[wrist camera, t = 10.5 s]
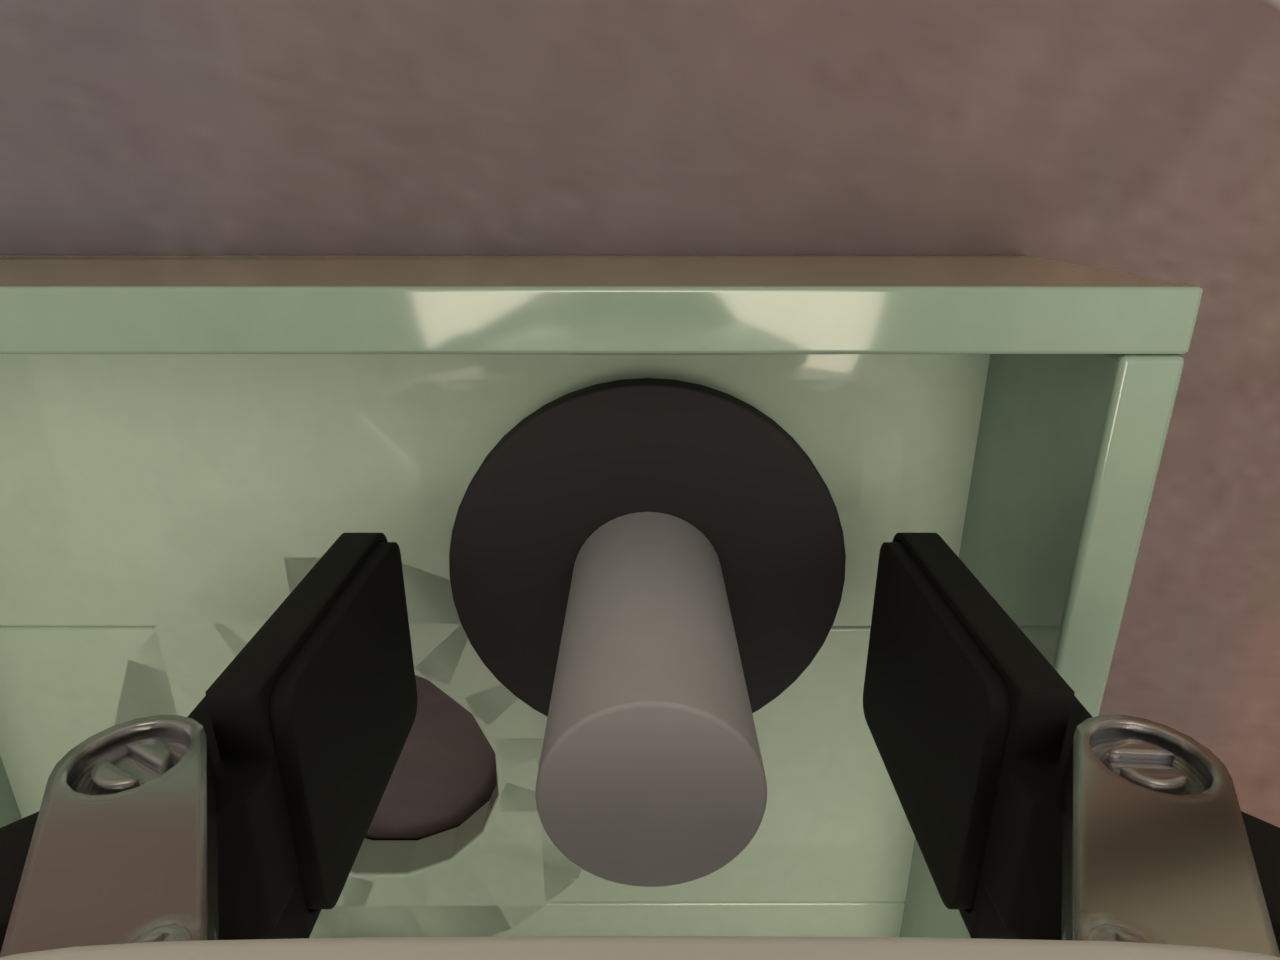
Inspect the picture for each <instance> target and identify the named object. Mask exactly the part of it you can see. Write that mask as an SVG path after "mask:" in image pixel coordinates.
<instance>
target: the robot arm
mask: <svg viewBox="0 0 1280 960" xmlns="http://www.w3.org/2000/svg"><path fill="white" fill-rule="evenodd" d="M205 694H206V696H205V697H204V698H203V699H202V700H201V701H200V703H199V704H198V705H197V706H196V707H195V708H194V710H193V711H192V712H191V713H190V714H189V716H188V717H184V716H180V715H154V716H149V717H143V718H137V719H133V720H130V721H127V722H124V723H121V724H118V725H115V726H112V727H110V728H107V729H105V730H103V731H101V732H99V733H97V734H95V735H93V736H91V737H89V738H87V739H86V740H84V741H83V742H81V743H80V744H78V745H77V746H75V747H74V748H72V749H71V750H70V751H69V752H68V753H67V754H66V755H65V756H64V757H63V758H62V759H61V760H60V761H59V762H58V763H57V764H56V765H55V767H54V769H53V770H52V772H51V774H50V776H49V778H48V781H47V784H46V788H45V792H44V795H43V799H42V803H41V806H40V810H39V811H38V812H36V813H34V814H31V815H29V816H27V817H24V818H22V819H20V820H18V821H15V822H13V823H11V824H8V825H6V826H4V827H1V828H0V960H1280V828H1279V827H1276V826H1274V825H1272V824H1269V823H1267V822H1265V821H1262V820H1260V819H1258V818H1256V817H1253V816H1251V815H1249V814H1246V813H1244V812H1242V811H1241V810H1240V806H1239V803H1238V799H1237V795H1236V792H1235V788H1234V784H1233V781H1232V778H1231V776H1230V774H1229V772H1228V770H1227V769H1226V767H1225V765H1224V764H1223V763H1222V762H1221V761H1220V760H1219V759H1218V758H1217V757H1216V756H1215V755H1214V754H1213V753H1212V752H1211V751H1210V750H1209V749H1208V748H1206V747H1205V746H1203V745H1202V744H1200V743H1199V742H1197V741H1196V740H1194V739H1193V738H1191V737H1189V736H1187V735H1185V734H1183V733H1181V732H1179V731H1177V730H1175V729H1173V728H1170V727H1168V726H1165V725H1162V724H1159V723H1156V722H1153V721H1150V720H1147V719H1143V718H1137V717H1131V716H1126V715H1100V716H1096V717H1092V715H1091V714H1090V713H1089V712H1088V711H1087V710H1086V708H1085V707H1084V706H1083V705H1082V704H1081V703H1080V701H1079V700H1078V699H1077V698H1076V697H1075V696H1074V694H1075V692H1074V691H1073V690H1072V688H1071V687H1070V686H1069V685H1068V684H1067V683H1066V681H1065V680H1064V679H1063V678H1062V677H1061V676H1060V675H1059V673H1058V672H1057V671H1056V670H1055V669H1054V668H1053V666H1052V665H1051V664H1050V663H1049V662H1048V661H1047V659H1046V658H1045V657H1044V656H1043V655H1042V654H1041V652H1040V651H1039V650H1038V649H1037V648H1036V647H1035V646H1034V644H1033V643H1032V642H1031V641H1030V640H1029V639H1028V637H1027V636H1026V635H1025V634H1024V633H1023V632H1022V630H1021V629H1020V628H1019V627H1018V626H1017V625H1016V623H1015V622H1014V621H1013V620H1012V619H1011V618H1010V617H1009V615H1008V614H1007V613H1006V612H1005V611H1004V610H1003V608H1002V607H1001V606H1000V605H999V604H998V603H997V601H996V600H995V599H994V598H993V597H992V596H991V594H990V593H989V592H988V591H987V590H986V589H985V587H984V586H983V585H982V584H981V583H980V582H979V581H978V579H977V578H976V577H975V576H974V575H973V574H972V572H971V571H970V570H969V569H968V568H967V567H966V565H965V564H964V563H963V562H962V561H961V560H960V558H959V557H958V556H957V555H956V554H955V553H954V552H953V550H952V549H951V548H950V547H949V546H948V545H947V543H946V542H945V541H944V540H943V539H942V538H941V536H940V535H939V534H937V533H897V534H896V535H895V536H894V538H893V541H892V542H884V543H883V544H882V545H881V548H880V553H879V561H878V569H877V578H876V587H875V595H874V604H873V612H872V621H871V629H870V638H869V647H868V655H867V664H866V672H865V681H864V689H863V711H864V716H865V720H866V722H867V725H868V727H869V730H870V732H871V734H872V737H873V739H874V741H875V744H876V746H877V748H878V751H879V753H880V756H881V758H882V760H883V763H884V765H885V767H886V770H887V772H888V774H889V777H890V779H891V781H892V784H893V786H894V789H895V791H896V793H897V796H898V798H899V800H900V803H901V805H902V807H903V810H904V812H905V815H906V817H907V819H908V822H909V824H910V826H911V829H912V831H913V833H914V836H915V838H916V840H917V843H918V845H919V848H920V850H921V852H922V855H923V857H924V859H925V862H926V864H927V866H928V869H929V871H930V874H931V876H932V878H933V881H934V883H935V885H936V888H937V890H938V892H939V895H940V897H941V899H942V901H943V903H944V905H945V906H946V907H947V908H948V909H958V910H959V912H960V914H961V917H962V919H963V921H964V923H965V926H966V928H967V930H968V932H969V935H970V937H971V938H927V937H772V936H508V937H353V938H309V937H310V935H311V932H312V930H313V928H314V926H315V923H316V921H317V919H318V917H319V914H320V912H321V910H322V909H333V907H334V906H335V905H336V903H337V901H338V899H339V897H340V895H341V892H342V890H343V888H344V885H345V883H346V881H347V878H348V876H349V874H350V871H351V869H352V866H353V864H354V862H355V859H356V857H357V855H358V852H359V850H360V848H361V845H362V843H363V841H364V838H365V836H366V833H367V831H368V829H369V826H370V824H371V822H372V819H373V817H374V815H375V812H376V810H377V807H378V805H379V803H380V800H381V798H382V796H383V793H384V791H385V789H386V786H387V784H388V781H389V779H390V777H391V774H392V772H393V770H394V767H395V765H396V763H397V760H398V758H399V756H400V753H401V751H402V748H403V746H404V744H405V741H406V739H407V737H408V734H409V732H410V730H411V727H412V725H413V722H414V720H415V716H416V711H417V689H416V681H415V672H414V664H413V655H412V646H411V638H410V629H409V621H408V612H407V604H406V595H405V586H404V578H403V569H402V561H401V553H400V548H399V545H398V544H397V543H396V542H388V541H387V538H386V536H385V535H384V534H383V533H343V534H341V535H340V536H339V538H338V539H337V540H336V541H335V542H334V543H333V545H332V546H331V547H330V548H329V549H328V550H327V552H326V553H325V554H324V555H323V556H322V557H321V558H320V560H319V561H318V562H317V563H316V564H315V565H314V567H313V568H312V569H311V570H310V571H309V572H308V574H307V575H306V576H305V577H304V578H303V579H302V581H301V582H300V583H299V584H298V585H297V586H296V588H295V589H294V590H293V591H292V592H291V593H290V594H289V596H288V597H287V598H286V599H285V600H284V601H283V603H282V604H281V605H280V606H279V607H278V608H277V610H276V611H275V612H274V613H273V614H272V615H271V617H270V618H269V619H268V620H267V621H266V622H265V623H264V625H263V626H262V627H261V628H260V629H259V630H258V632H257V633H256V634H255V635H254V636H253V637H252V639H251V640H250V641H249V642H248V643H247V644H246V646H245V647H244V648H243V649H242V650H241V651H240V652H239V654H238V655H237V656H236V657H235V658H234V659H233V661H232V662H231V663H230V664H229V665H228V666H227V668H226V669H225V670H224V671H223V672H222V673H221V675H220V676H219V677H218V678H217V679H216V680H215V681H214V683H213V684H212V685H211V686H210V687H209V688H208V690H207V691H206V692H205Z"/></svg>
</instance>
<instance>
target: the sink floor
mask: <svg viewBox="0 0 1280 960" xmlns="http://www.w3.org/2000/svg"><path fill="white" fill-rule="evenodd" d="M0 258H2V259H5V258H6V259H7V258H8V259H9V258H11V259H12V258H13V259H16V258H18V259H19V258H22V259H26V258H27V259H28V258H29V259H30V258H31V259H35V258H36V259H43V258H45V259H46V258H48V259H49V258H50V259H51V258H52V259H53V258H54V259H55V258H56V259H63V258H64V259H66V258H67V259H68V258H69V259H89V258H91V259H120V258H121V259H147V260H148V259H156V260H157V259H159V260H160V259H163V260H164V259H174V260H175V259H183V260H185V259H187V260H189V259H190V260H192V259H193V260H194V259H196V260H197V259H199V260H200V259H201V260H202V259H205V260H206V259H207V260H209V259H210V260H212V259H213V260H246V259H247V260H259V259H260V260H317V259H318V260H1047V259H1041V258H1035V257H1030V256H1024V255H0ZM989 360H990V354H0V756H1V759H2V762H3V765H4V767H5V770H6V773H7V776H8V779H9V782H10V785H11V788H12V791H13V793H14V796H15V799H16V802H17V805H18V808H19V811H20V814H21V817H22V818H24V817H27V816H29V815H31V814H34V813H36V812H38V811H39V810H40V806H41V803H42V799H43V795H44V792H45V788H46V784H47V781H48V778H49V776H50V774H51V772H52V770H53V769H54V767H55V765H56V764H57V763H58V762H59V761H60V760H61V759H62V758H63V757H64V756H65V755H66V754H67V753H68V752H69V751H70V750H71V749H72V748H74V747H75V746H77V745H78V744H80V743H81V742H83V741H84V740H86V739H87V738H89V737H91V736H93V735H95V734H97V733H99V732H101V731H103V730H105V729H107V728H110V727H112V726H115V725H118V724H121V723H124V722H127V721H130V720H133V719H137V718H143V717H149V716H154V715H180V716H184V717H188V716H189V714H190V713H191V712H192V711H193V710H194V708H195V707H196V706H197V705H198V704H199V703H200V701H201V700H202V699H203V698H204V697H205V696H206V694H205V692H206V691H207V690H208V688H209V687H210V686H211V685H212V684H213V683H214V681H215V680H216V679H217V678H218V677H219V676H220V675H221V673H222V672H223V671H224V670H225V669H226V668H227V666H228V665H229V664H230V663H231V662H232V661H233V659H234V658H235V657H236V656H237V655H238V654H239V652H240V651H241V650H242V649H243V648H244V647H245V646H246V644H247V643H248V642H249V641H250V640H251V639H252V637H253V636H254V635H255V634H256V633H257V632H258V630H259V629H260V628H261V627H262V626H263V625H264V623H265V622H266V621H267V620H268V619H269V618H270V617H271V615H272V614H273V613H274V612H275V611H276V610H277V608H278V607H279V606H280V605H281V604H282V603H283V601H284V600H285V599H286V598H287V597H288V596H289V594H290V593H291V592H292V591H293V590H294V589H295V588H296V586H297V585H298V584H299V583H300V582H301V581H302V579H303V578H304V577H305V576H306V575H307V574H308V572H309V571H310V570H311V569H312V568H313V567H314V565H315V564H316V563H317V562H318V561H319V560H320V558H321V557H322V556H323V555H324V554H325V553H326V552H327V550H328V549H329V548H330V547H331V546H332V545H333V543H334V542H335V541H336V540H337V539H338V538H339V536H340V535H341V534H343V533H383V534H384V535H385V536H386V538H387V541H388V542H396V543H397V544H398V545H399V548H400V553H401V561H402V569H403V578H404V586H405V595H406V604H407V612H408V621H409V629H410V638H411V646H412V655H413V664H414V672H415V676H418V677H421V678H424V679H427V680H429V681H430V682H431V683H433V684H434V685H435V686H436V687H438V688H439V689H440V690H442V691H443V692H444V693H445V694H447V695H448V696H449V697H451V698H452V699H453V700H454V701H456V702H457V703H458V704H460V705H461V706H462V707H463V708H465V709H466V710H467V711H469V712H470V713H471V714H472V715H473V717H474V718H475V720H476V722H477V723H478V725H479V727H480V728H481V730H482V732H483V734H484V735H485V737H486V739H487V740H488V742H489V744H490V746H491V747H492V749H493V751H494V752H495V761H496V774H497V784H496V786H495V789H494V791H493V793H492V796H491V798H490V800H489V801H488V802H487V803H486V804H485V805H483V806H482V807H481V808H480V809H479V810H477V811H476V812H475V813H474V814H473V815H472V816H470V817H469V818H468V819H467V820H466V821H465V822H463V823H462V824H461V825H460V826H458V827H455V828H452V829H449V830H446V831H443V832H440V833H437V834H434V835H431V836H428V837H425V838H422V839H419V840H371V839H367V838H364V841H363V843H362V845H361V848H360V850H359V852H358V855H357V857H356V859H355V862H354V864H353V866H352V869H351V871H350V874H349V876H348V878H347V881H346V883H345V885H344V888H343V890H342V892H341V895H340V897H339V899H338V901H337V903H336V905H335V906H334V907H333V909H322V910H321V912H320V914H319V917H318V919H317V921H316V923H315V926H314V928H313V930H312V932H311V935H310V937H309V938H353V937H508V936H772V937H900V932H901V925H902V919H903V912H904V906H905V905H904V902H905V899H906V893H907V887H908V880H909V874H910V867H911V861H912V855H913V848H914V842H915V836H914V833H913V831H912V829H911V826H910V824H909V822H908V819H907V817H906V815H905V812H904V810H903V807H902V805H901V803H900V800H899V798H898V796H897V793H896V791H895V789H894V786H893V784H892V781H891V779H890V777H889V774H888V772H887V770H886V767H885V765H884V763H883V760H882V758H881V756H880V753H879V751H878V748H877V746H876V744H875V741H874V739H873V737H872V734H871V732H870V730H869V727H868V725H867V722H866V720H865V716H864V711H863V689H864V681H865V672H866V664H867V655H868V647H869V638H870V629H871V621H872V612H873V604H874V595H875V587H876V578H877V569H878V561H879V553H880V548H881V545H882V544H883V543H884V542H892V541H893V538H894V536H895V535H896V534H897V533H937V534H939V535H940V536H941V538H942V539H943V540H944V541H945V542H946V543H947V545H948V546H949V547H950V548H951V549H952V550H953V552H954V553H955V554H956V555H957V556H958V557H959V553H960V546H961V540H962V533H963V527H964V521H965V514H966V508H967V501H968V495H969V489H970V482H971V476H972V469H973V463H974V456H975V450H976V444H977V437H978V431H979V424H980V418H981V411H982V405H983V399H984V392H985V386H986V379H987V373H988V367H989ZM639 378H657V379H672V380H680V381H685V382H690V383H695V384H699V385H704V386H707V387H710V388H713V389H716V390H718V391H721V392H724V393H727V394H730V395H732V396H734V397H736V398H738V399H740V400H742V401H744V402H746V403H748V404H750V405H752V406H753V407H755V408H756V409H758V410H759V411H761V412H762V413H764V414H765V415H767V416H768V417H770V418H771V419H773V420H774V421H775V422H776V423H777V424H778V425H780V426H781V427H782V428H783V429H784V430H785V431H786V432H787V433H788V434H790V435H791V436H792V437H793V438H794V439H795V441H796V442H797V443H798V444H799V445H800V447H801V448H802V449H803V450H804V451H805V453H806V454H807V455H808V456H809V458H810V459H811V461H812V462H813V464H814V466H815V467H816V469H817V471H818V472H819V474H820V475H821V477H822V479H823V480H824V482H825V483H826V485H827V487H828V489H829V492H830V494H831V496H832V498H833V501H834V503H835V505H836V508H837V511H838V515H839V518H840V522H841V526H842V530H843V536H844V545H845V553H846V561H845V581H844V586H843V592H842V598H841V602H840V605H839V608H838V611H837V614H836V617H835V620H834V623H833V626H832V628H831V630H830V632H829V634H828V636H827V638H826V640H825V642H824V644H823V646H822V647H821V649H820V650H819V652H818V653H817V655H816V656H815V658H814V659H813V661H812V662H811V664H810V665H809V666H808V667H807V668H806V669H805V670H804V672H803V673H802V674H801V675H800V676H799V677H798V678H797V680H796V681H795V682H794V683H793V684H791V685H790V686H789V687H788V688H787V689H786V690H785V691H784V692H782V693H781V694H780V695H779V696H778V697H777V698H775V699H774V700H772V701H771V702H769V703H768V704H767V705H765V706H764V707H762V708H761V709H759V710H758V711H756V712H754V713H752V715H753V719H754V724H755V729H756V733H757V738H758V743H759V747H760V752H761V757H762V761H763V766H764V771H765V776H766V782H767V802H766V809H765V812H764V815H763V818H762V821H761V824H760V826H759V828H758V830H757V832H756V834H755V835H754V837H753V838H752V840H751V841H750V843H749V844H748V845H747V846H746V847H745V849H744V850H743V851H742V852H741V853H740V854H739V855H738V856H736V857H735V858H734V859H733V860H732V861H730V862H729V863H728V864H726V865H725V866H723V867H722V868H720V869H718V870H717V871H715V872H713V873H711V874H709V875H707V876H704V877H702V878H699V879H696V880H693V881H690V882H686V883H682V884H677V885H670V886H661V887H641V886H631V885H625V884H620V883H616V882H612V881H608V880H606V879H603V878H600V877H598V876H595V875H593V874H591V873H589V872H587V871H585V870H583V869H582V868H580V867H579V866H577V865H576V864H574V863H573V862H572V861H570V860H569V859H568V858H567V857H566V856H564V855H563V854H562V853H561V852H560V851H559V849H558V848H557V847H556V846H555V845H554V844H553V842H552V841H551V839H550V838H549V836H548V835H547V833H546V831H545V829H544V827H543V825H542V823H541V820H540V817H539V814H538V810H537V805H536V797H535V795H536V781H537V775H538V769H539V764H540V758H541V752H542V746H543V741H544V735H545V729H546V724H547V718H548V717H547V716H545V715H544V714H542V713H540V712H538V711H536V710H534V709H533V708H531V707H530V706H529V705H527V704H526V703H524V702H523V701H522V700H520V699H519V698H517V697H516V696H515V695H514V694H512V693H511V692H510V691H509V690H508V689H507V688H506V687H505V686H504V685H503V684H501V683H500V682H499V681H498V680H497V679H496V677H495V676H494V675H493V674H492V673H491V672H490V670H489V669H488V668H487V667H486V666H485V665H484V663H483V662H482V661H481V659H480V657H479V656H478V654H477V653H476V651H475V650H474V648H473V647H472V645H471V644H470V642H469V639H468V637H467V635H466V633H465V631H464V629H463V627H462V625H461V623H460V620H459V616H458V613H457V610H456V607H455V604H454V600H453V595H452V589H451V583H450V574H449V551H450V543H451V536H452V529H453V526H454V522H455V519H456V515H457V512H458V508H459V506H460V503H461V501H462V499H463V497H464V494H465V492H466V490H467V488H468V486H469V484H470V482H471V480H472V478H473V477H474V475H475V473H476V472H477V470H478V469H479V467H480V466H481V464H482V463H483V461H484V459H485V458H486V456H487V455H488V454H489V453H490V451H491V450H492V449H493V448H494V447H495V446H496V444H497V443H498V442H499V441H500V440H501V439H502V437H503V436H504V435H505V434H507V433H508V432H509V431H510V430H511V429H512V428H513V427H515V426H516V425H517V424H518V423H519V422H520V421H521V420H523V419H524V418H525V417H527V416H529V415H530V414H532V413H533V412H535V411H536V410H538V409H539V408H541V407H542V406H544V405H545V404H547V403H549V402H552V401H554V400H556V399H558V398H560V397H562V396H564V395H566V394H568V393H571V392H574V391H577V390H580V389H583V388H586V387H589V386H592V385H595V384H601V383H606V382H611V381H616V380H622V379H639Z"/></svg>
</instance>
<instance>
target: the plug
mask: <svg viewBox="0 0 1280 960" xmlns="http://www.w3.org/2000/svg"><path fill="white" fill-rule="evenodd" d="M845 561H846V553H845V545H844V536H843V530H842V526H841V522H840V518H839V515H838V511H837V508H836V505H835V503H834V501H833V498H832V496H831V494H830V492H829V489H828V487H827V485H826V483H825V482H824V480H823V479H822V477H821V475H820V474H819V472H818V471H817V469H816V467H815V466H814V464H813V462H812V461H811V459H810V458H809V456H808V455H807V454H806V453H805V451H804V450H803V449H802V448H801V447H800V445H799V444H798V443H797V442H796V441H795V439H794V438H793V437H792V436H791V435H790V434H788V433H787V432H786V431H785V430H784V429H783V428H782V427H781V426H780V425H778V424H777V423H776V422H775V421H774V420H773V419H771V418H770V417H768V416H767V415H765V414H764V413H762V412H761V411H759V410H758V409H756V408H755V407H753V406H752V405H750V404H748V403H746V402H744V401H742V400H740V399H738V398H736V397H734V396H732V395H730V394H727V393H724V392H721V391H718V390H716V389H713V388H710V387H707V386H704V385H699V384H695V383H690V382H685V381H680V380H672V379H657V378H639V379H622V380H616V381H611V382H606V383H601V384H595V385H592V386H589V387H586V388H583V389H580V390H577V391H574V392H571V393H568V394H566V395H564V396H562V397H560V398H558V399H556V400H554V401H552V402H549V403H547V404H545V405H544V406H542V407H541V408H539V409H538V410H536V411H535V412H533V413H532V414H530V415H529V416H527V417H525V418H524V419H523V420H521V421H520V422H519V423H518V424H517V425H516V426H515V427H513V428H512V429H511V430H510V431H509V432H508V433H507V434H505V435H504V436H503V437H502V439H501V440H500V441H499V442H498V443H497V444H496V446H495V447H494V448H493V449H492V450H491V451H490V453H489V454H488V455H487V456H486V458H485V459H484V461H483V463H482V464H481V466H480V467H479V469H478V470H477V472H476V473H475V475H474V477H473V478H472V480H471V482H470V484H469V486H468V488H467V490H466V492H465V494H464V497H463V499H462V501H461V503H460V506H459V508H458V512H457V515H456V519H455V522H454V526H453V529H452V536H451V543H450V551H449V574H450V583H451V589H452V595H453V600H454V604H455V607H456V610H457V613H458V616H459V620H460V623H461V625H462V627H463V629H464V631H465V633H466V635H467V637H468V639H469V642H470V644H471V645H472V647H473V648H474V650H475V651H476V653H477V654H478V656H479V657H480V659H481V661H482V662H483V663H484V665H485V666H486V667H487V668H488V669H489V670H490V672H491V673H492V674H493V675H494V676H495V677H496V679H497V680H498V681H499V682H500V683H501V684H503V685H504V686H505V687H506V688H507V689H508V690H509V691H510V692H511V693H512V694H514V695H515V696H516V697H517V698H519V699H520V700H522V701H523V702H524V703H526V704H527V705H529V706H530V707H531V708H533V709H534V710H536V711H538V712H540V713H542V714H544V715H545V716H547V717H548V718H547V724H546V729H545V735H544V741H543V746H542V752H541V758H540V764H539V769H538V775H537V781H536V795H535V797H536V805H537V810H538V814H539V817H540V820H541V823H542V825H543V827H544V829H545V831H546V833H547V835H548V836H549V838H550V839H551V841H552V842H553V844H554V845H555V846H556V847H557V848H558V849H559V851H560V852H561V853H562V854H563V855H564V856H566V857H567V858H568V859H569V860H570V861H572V862H573V863H574V864H576V865H577V866H579V867H580V868H582V869H583V870H585V871H587V872H589V873H591V874H593V875H595V876H598V877H600V878H603V879H606V880H608V881H612V882H616V883H620V884H625V885H631V886H641V887H661V886H670V885H677V884H682V883H686V882H690V881H693V880H696V879H699V878H702V877H704V876H707V875H709V874H711V873H713V872H715V871H717V870H718V869H720V868H722V867H723V866H725V865H726V864H728V863H729V862H730V861H732V860H733V859H734V858H735V857H736V856H738V855H739V854H740V853H741V852H742V851H743V850H744V849H745V847H746V846H747V845H748V844H749V843H750V841H751V840H752V838H753V837H754V835H755V834H756V832H757V830H758V828H759V826H760V824H761V821H762V818H763V815H764V812H765V809H766V802H767V782H766V776H765V771H764V766H763V761H762V757H761V752H760V747H759V743H758V738H757V733H756V729H755V724H754V719H753V715H752V713H754V712H756V711H758V710H759V709H761V708H762V707H764V706H765V705H767V704H768V703H769V702H771V701H772V700H774V699H775V698H777V697H778V696H779V695H780V694H781V693H782V692H784V691H785V690H786V689H787V688H788V687H789V686H790V685H791V684H793V683H794V682H795V681H796V680H797V678H798V677H799V676H800V675H801V674H802V673H803V672H804V670H805V669H806V668H807V667H808V666H809V665H810V664H811V662H812V661H813V659H814V658H815V656H816V655H817V653H818V652H819V650H820V649H821V647H822V646H823V644H824V642H825V640H826V638H827V636H828V634H829V632H830V630H831V628H832V626H833V623H834V620H835V617H836V614H837V611H838V608H839V605H840V602H841V598H842V592H843V586H844V581H845Z"/></svg>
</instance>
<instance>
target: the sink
mask: <svg viewBox="0 0 1280 960" xmlns="http://www.w3.org/2000/svg"><path fill="white" fill-rule="evenodd" d="M1024 256H1026V255H1024ZM1030 257H1032V256H1030ZM1035 258H1037V257H1035ZM1041 259H1043V258H1041ZM1202 294H1203V289H1202V288H1201V287H1199V286H1196V285H1191V284H1185V283H1179V282H1174V281H1168V280H1162V279H1157V278H1151V277H1145V276H1140V275H1134V274H1128V273H1122V272H1117V271H1111V270H1105V269H1100V268H1094V267H1088V266H1083V265H1077V264H1071V263H1066V262H1060V261H1054V260H1049V259H1047V260H318V259H317V260H260V259H259V260H247V259H246V260H213V259H212V260H210V259H209V260H207V259H206V260H205V259H202V260H201V259H200V260H199V259H197V260H196V259H194V260H193V259H192V260H190V259H189V260H187V259H185V260H183V259H175V260H174V259H164V260H163V259H160V260H159V259H157V260H156V259H148V260H147V259H121V258H120V259H91V258H89V259H69V258H68V259H67V258H66V259H64V258H63V259H56V258H55V259H54V258H53V259H52V258H51V259H50V258H49V259H48V258H46V259H45V258H43V259H36V258H35V259H31V258H30V259H29V258H28V259H27V258H26V259H22V258H19V259H18V258H16V259H13V258H12V259H11V258H9V259H8V258H7V259H6V258H5V259H2V258H0V354H990V360H989V367H988V373H987V379H986V386H985V392H984V399H983V405H982V411H981V418H980V424H979V431H978V437H977V444H976V450H975V456H974V463H973V469H972V476H971V482H970V489H969V495H968V501H967V508H966V514H965V521H964V527H963V533H962V540H961V546H960V553H959V558H960V560H961V561H962V562H963V563H964V564H965V565H966V567H967V568H968V569H969V570H970V571H971V572H972V574H973V575H974V576H975V577H976V578H977V579H978V581H979V582H980V583H981V584H982V585H983V586H984V587H985V589H986V590H987V591H988V592H989V593H990V594H991V596H992V597H993V598H994V599H995V600H996V601H997V603H998V604H999V605H1000V606H1001V607H1002V608H1003V610H1004V611H1005V612H1006V613H1007V614H1008V615H1009V617H1010V618H1011V619H1012V620H1013V621H1014V622H1015V623H1016V625H1017V626H1018V627H1019V628H1020V629H1021V630H1022V632H1023V633H1024V634H1025V635H1026V636H1027V637H1028V639H1029V640H1030V641H1031V642H1032V643H1033V644H1034V646H1035V647H1036V648H1037V649H1038V650H1039V651H1040V652H1041V654H1042V655H1043V656H1044V657H1045V658H1046V659H1047V661H1048V662H1049V663H1050V664H1051V665H1052V666H1053V668H1054V669H1055V670H1056V671H1057V672H1058V673H1059V675H1060V676H1061V677H1062V678H1063V679H1064V680H1065V681H1066V683H1067V684H1068V685H1069V686H1070V687H1071V688H1072V690H1073V691H1074V692H1075V694H1074V696H1075V697H1076V698H1077V699H1078V700H1079V701H1080V703H1081V704H1082V705H1083V706H1084V707H1085V708H1086V710H1087V711H1088V712H1089V713H1090V714H1091V715H1092V717H1096V716H1099V712H1100V708H1101V704H1102V700H1103V696H1104V692H1105V688H1106V684H1107V679H1108V675H1109V671H1110V667H1111V663H1112V659H1113V655H1114V651H1115V647H1116V642H1117V638H1118V634H1119V630H1120V626H1121V622H1122V618H1123V614H1124V609H1125V605H1126V601H1127V597H1128V593H1129V589H1130V585H1131V581H1132V577H1133V572H1134V568H1135V564H1136V560H1137V556H1138V552H1139V548H1140V544H1141V540H1142V535H1143V531H1144V527H1145V523H1146V519H1147V515H1148V511H1149V507H1150V502H1151V498H1152V494H1153V490H1154V486H1155V482H1156V478H1157V474H1158V470H1159V465H1160V461H1161V457H1162V453H1163V449H1164V445H1165V441H1166V437H1167V432H1168V428H1169V424H1170V420H1171V416H1172V412H1173V408H1174V404H1175V400H1176V395H1177V391H1178V387H1179V383H1180V379H1181V375H1182V371H1183V367H1184V358H1183V357H1182V356H1180V355H1178V354H1185V353H1187V352H1188V350H1189V347H1190V343H1191V339H1192V335H1193V331H1194V327H1195V323H1196V319H1197V314H1198V310H1199V306H1200V302H1201V298H1202ZM20 819H22V817H21V814H20V811H19V808H18V805H17V802H16V799H15V796H14V793H13V791H12V788H11V785H10V782H9V779H8V776H7V773H6V770H5V767H4V765H3V762H2V759H1V756H0V828H1V827H4V826H6V825H8V824H11V823H13V822H15V821H18V820H20ZM904 905H905V906H904V912H903V919H902V925H901V932H900V937H927V938H971V937H970V935H969V932H968V930H967V928H966V926H965V923H964V921H963V919H962V917H961V914H960V912H959V910H958V909H948V908H947V907H946V906H945V905H944V903H943V901H942V899H941V897H940V895H939V892H938V890H937V888H936V885H935V883H934V881H933V878H932V876H931V874H930V871H929V869H928V866H927V864H926V862H925V859H924V857H923V855H922V852H921V850H920V848H919V845H918V843H917V840H916V838H915V842H914V848H913V855H912V861H911V867H910V874H909V880H908V887H907V893H906V899H905V902H904Z"/></svg>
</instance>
